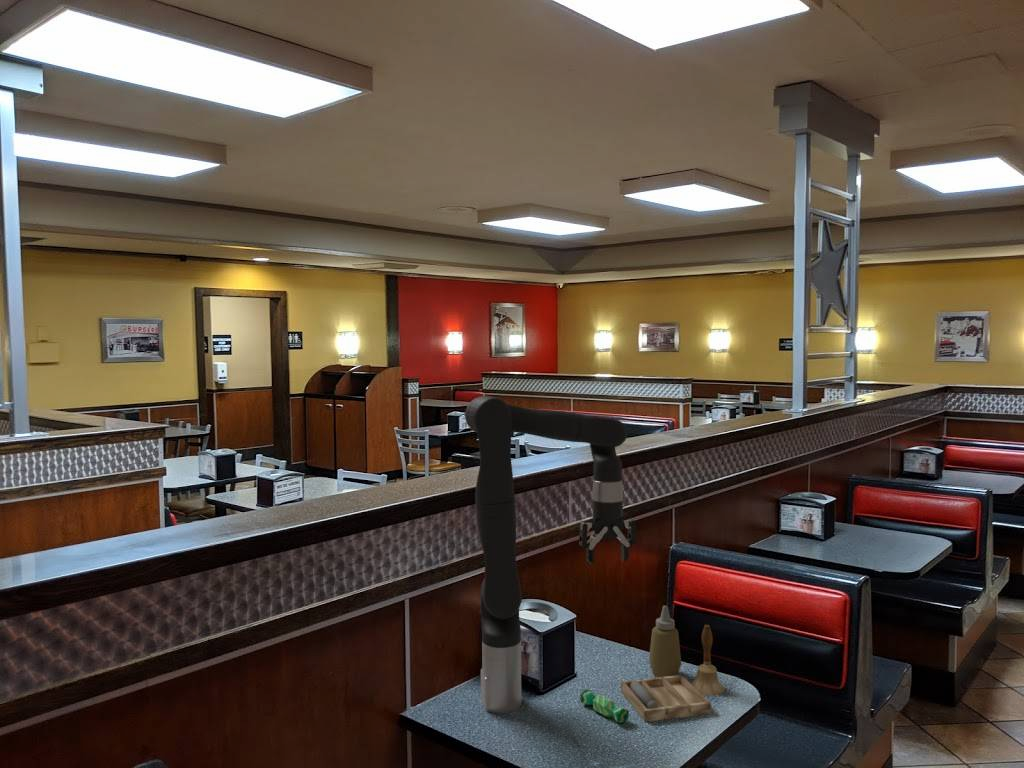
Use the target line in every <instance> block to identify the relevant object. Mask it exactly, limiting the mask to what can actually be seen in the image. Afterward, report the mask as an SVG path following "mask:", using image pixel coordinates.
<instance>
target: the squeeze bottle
mask: <svg viewBox="0 0 1024 768" xmlns="http://www.w3.org/2000/svg"><path fill="white" fill-rule="evenodd" d="M675 625H676V624H675V620H674V619H673V618H671V616H670V611H669V607H668V605H662V609H661V612H660V617H658V618H656V619H655V626H654V627H653V628H652V629H651V639H650V646H649V657H648V662H649V665H650V668H651V672H652V675H653V677H654V678H656V677H666V676H676V675H679V672H680V668H681V666H682V658H681V657H682V656H681V647H680V646H681V645H680V638H679V637H680V636H679V635H680V634H679V630H678V629H677V628H676V627H675Z"/></svg>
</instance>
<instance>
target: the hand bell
mask: <svg viewBox="0 0 1024 768" xmlns="http://www.w3.org/2000/svg"><path fill="white" fill-rule="evenodd" d="M701 644H702V648H703V663H702V664H700V665H698V666H697V672H696V675H695V679H694V680H692V681H691V682H690V683H691V684H692V685H693V686H694V687H695V688H696V689H697V690H698V691H699V692H700V693H701V694H702V695H703V696H718V695H721V694H722V693H723V692H724V691H725V688H724V685H722V683H721V682H720V680H719V679H718V677H719V676H718V672H717V671H718V670H717V668H716V666H714V665H713V664H712V659H711V658H712V656H711V651H712V647H713V633H712V630H711V626H710V624H704V626H703V630H702V633H701Z"/></svg>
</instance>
